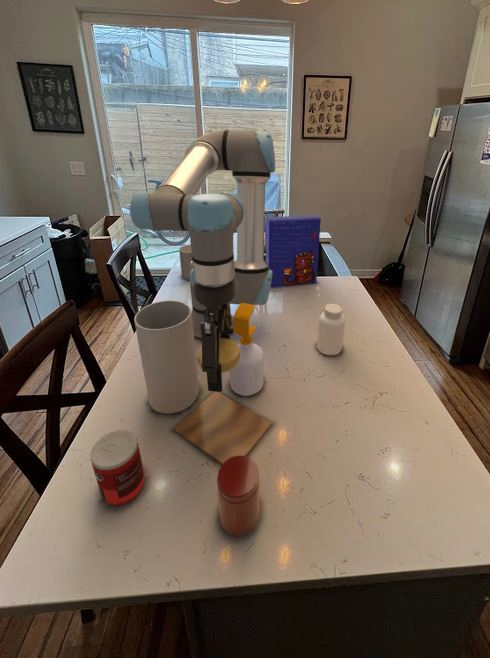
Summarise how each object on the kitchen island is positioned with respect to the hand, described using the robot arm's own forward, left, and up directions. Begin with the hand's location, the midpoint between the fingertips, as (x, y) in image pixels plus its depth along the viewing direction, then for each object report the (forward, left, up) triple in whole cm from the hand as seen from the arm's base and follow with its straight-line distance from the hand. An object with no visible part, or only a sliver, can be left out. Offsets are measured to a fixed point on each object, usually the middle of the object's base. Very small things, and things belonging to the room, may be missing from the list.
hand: (220, 373), depth 70 cm
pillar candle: (-67, +53, -17) cm, 87 cm away
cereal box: (-27, +74, -17) cm, 80 cm away
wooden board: (-1, +1, -17) cm, 17 cm away
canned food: (-8, -20, -17) cm, 28 cm away
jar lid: (0, 0, +6) cm, 6 cm away
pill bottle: (+7, +42, -17) cm, 46 cm away
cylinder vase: (-18, +1, -17) cm, 25 cm away
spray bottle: (-5, +15, -17) cm, 23 cm away
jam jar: (+14, -11, -17) cm, 25 cm away
